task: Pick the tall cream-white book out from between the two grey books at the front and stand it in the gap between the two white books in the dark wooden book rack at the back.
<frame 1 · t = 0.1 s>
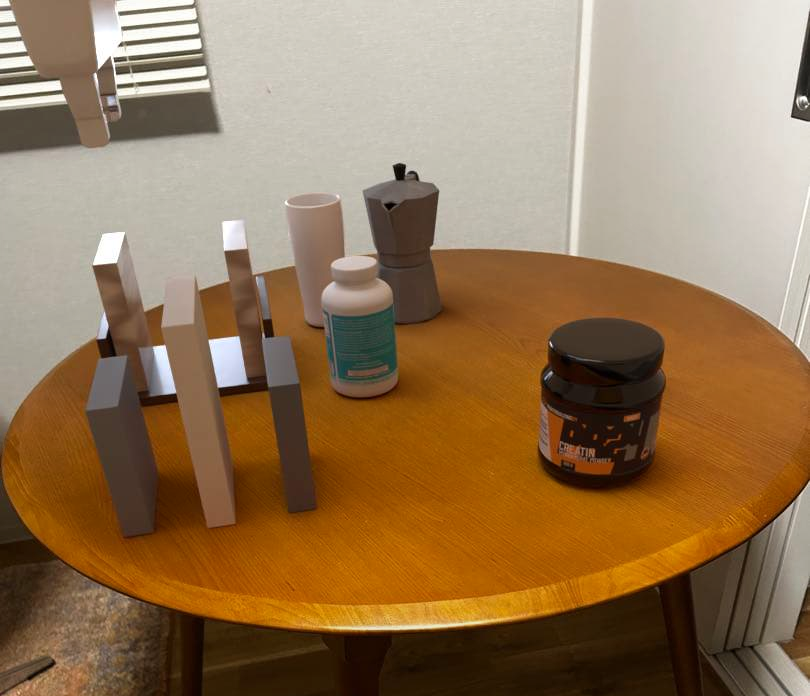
hand: (104, 132, 61), 30 cm above the table, tool pointing down, fingers open, 8 cm apart
white book: (220, 492, 76), on the table
supplement container: (594, 463, 77), on the table
pill bottle: (365, 386, 93), on the table
grey books: (220, 492, 76), on the table
coffeepot: (408, 309, 111), on the table
book rack: (200, 372, 98), on the table
drinking glass: (326, 322, 109), on the table
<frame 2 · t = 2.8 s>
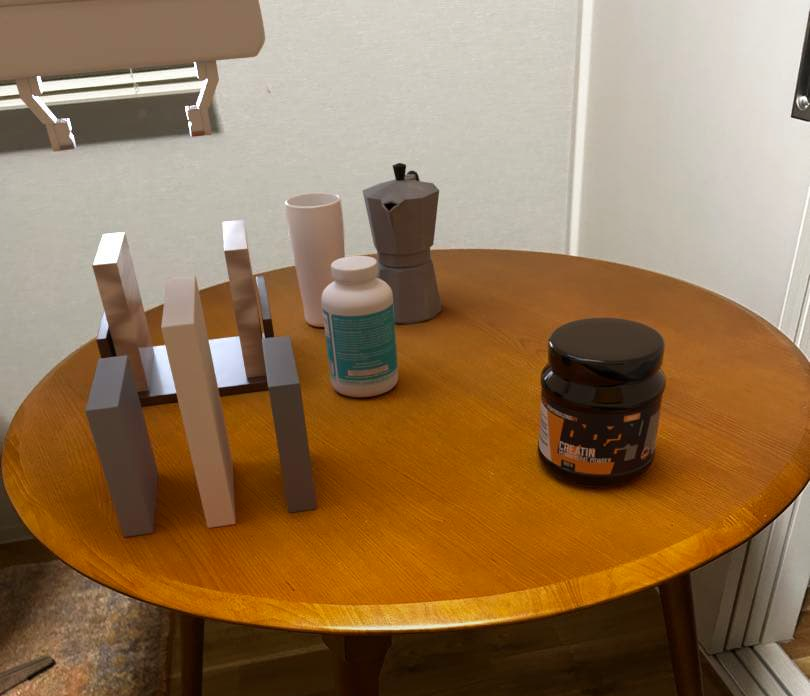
hand: (134, 141, 60), 29 cm above the table, tool pointing down, fingers open, 8 cm apart
nothing on the table moved.
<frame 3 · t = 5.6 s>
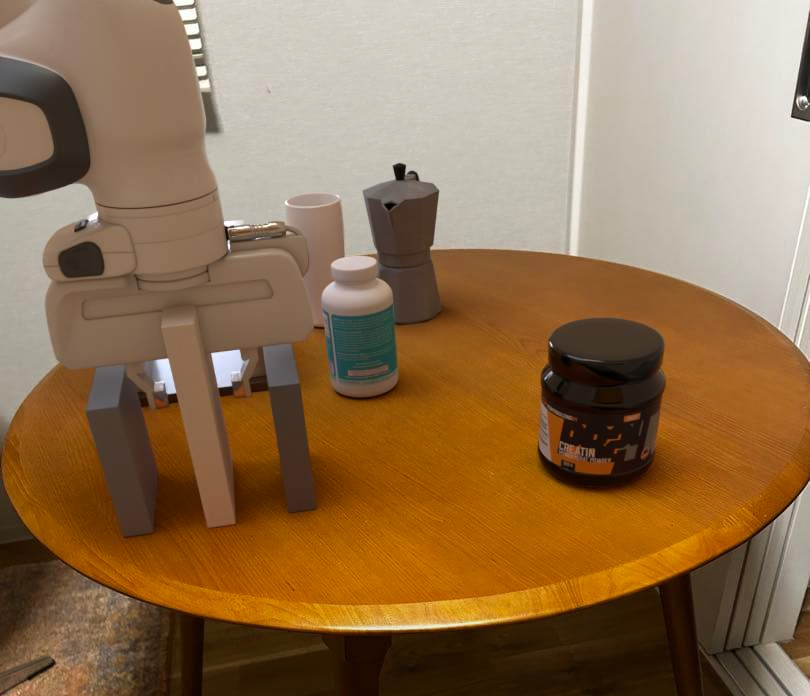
hand: (201, 400, 71), 9 cm above the table, tool pointing down, fingers open, 5 cm apart
nothing on the table moved.
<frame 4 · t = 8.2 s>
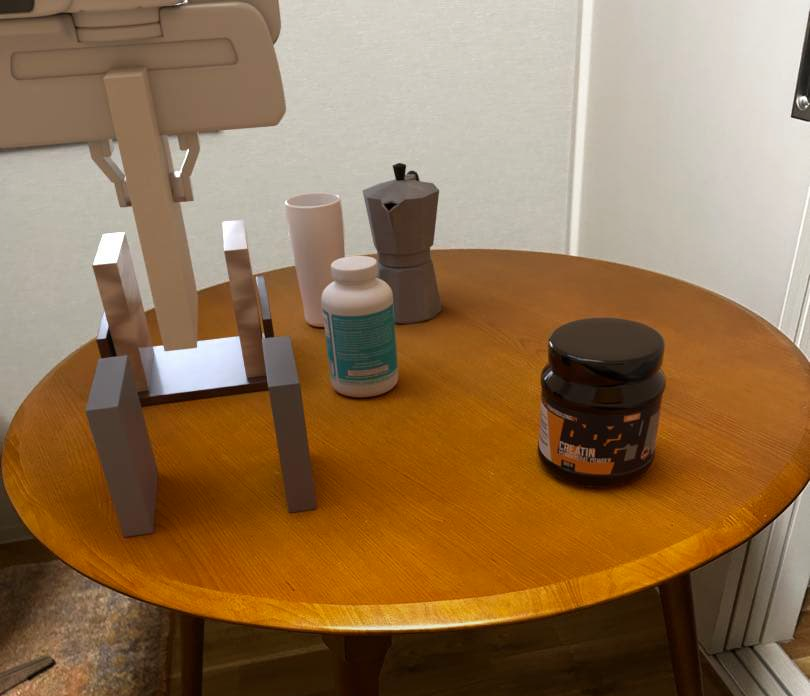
hand: (157, 202, 61), 25 cm above the table, tool pointing down, fingers closed on white book, 2 cm apart
white book: (182, 322, 67), point 16 cm above the table, touching gripper
everything else where it was.
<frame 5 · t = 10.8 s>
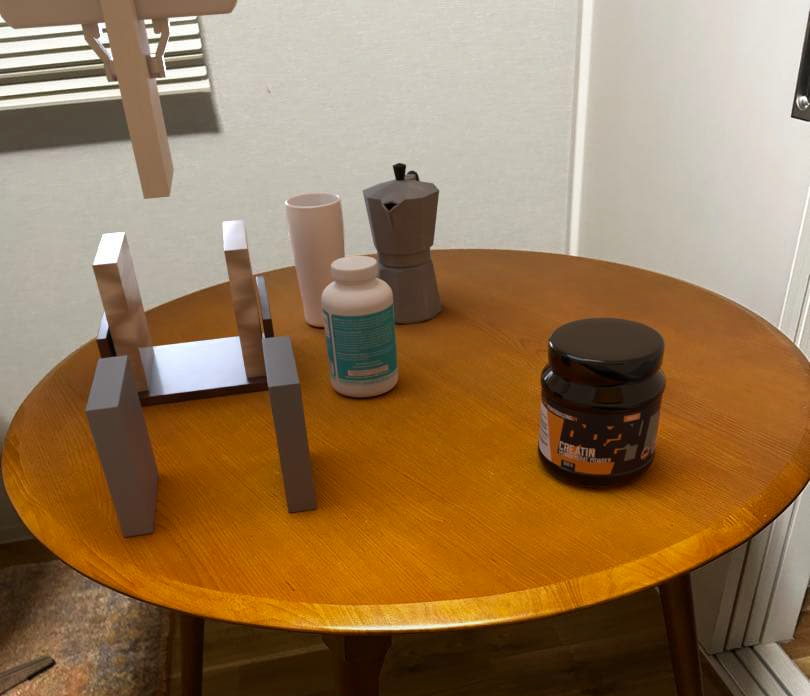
hand: (137, 79, 77), 30 cm above the table, tool pointing down, fingers closed on white book, 2 cm apart
white book: (159, 184, 83), point 21 cm above the table, touching gripper
everything else where it was.
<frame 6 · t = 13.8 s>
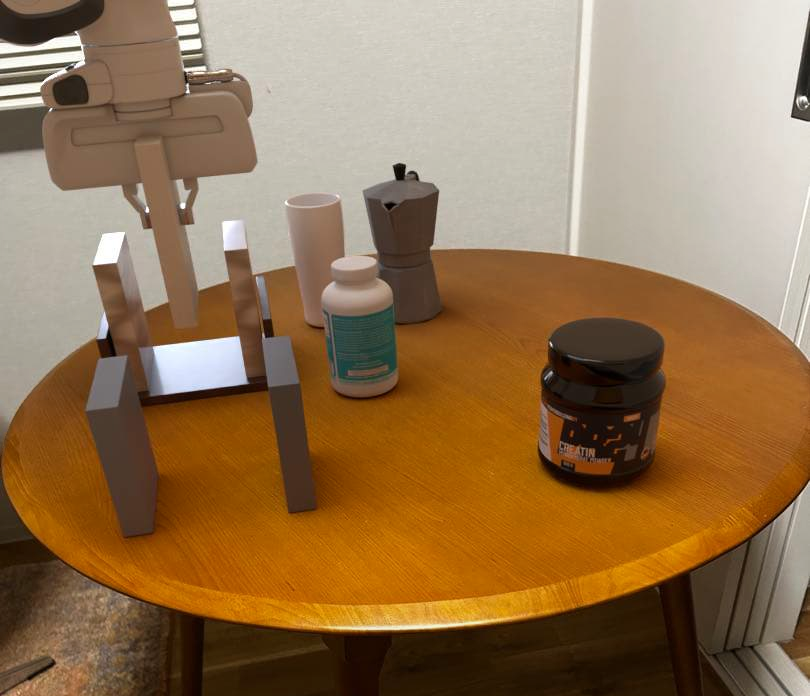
hand: (169, 225, 88), 17 cm above the table, tool pointing down, fingers closed on white book, 2 cm apart
white book: (187, 310, 93), point 7 cm above the table, touching gripper
everything else where it was.
when the fingers open (12 cm above the table, at t = 16.8 s): white book stays where it is, resting on book rack.
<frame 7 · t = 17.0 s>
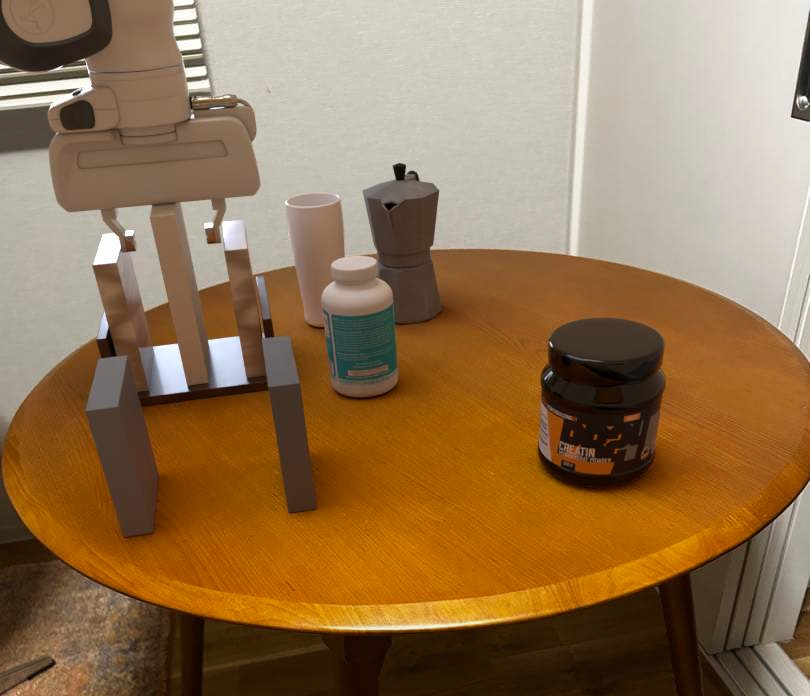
hand: (172, 246, 89), 14 cm above the table, tool pointing down, fingers open, 7 cm apart
white book: (198, 364, 97), point 1 cm above the table, touching book rack
everything else where it was.
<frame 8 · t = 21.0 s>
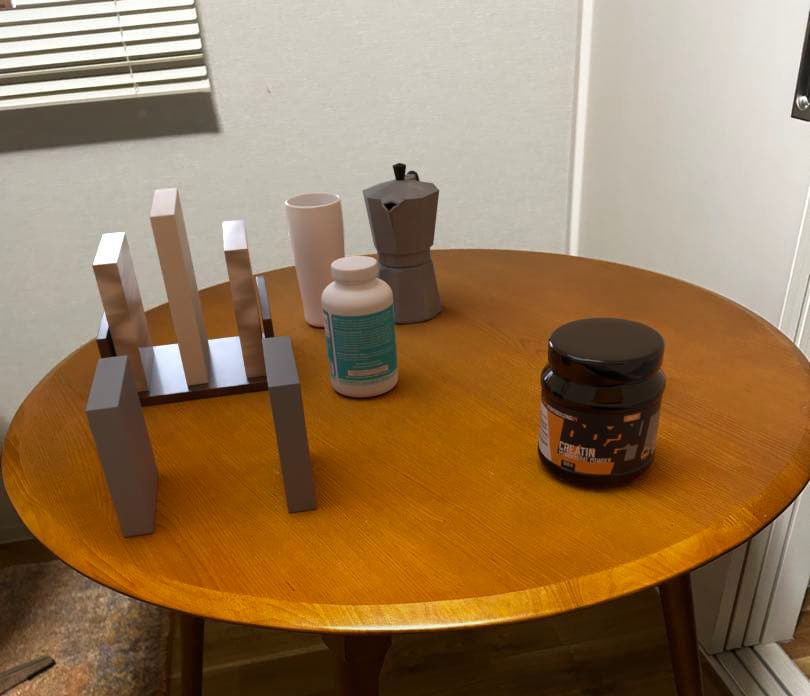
nothing on the table moved.
at the end: white book inside the target area on the book rack (0.0 cm from its centre), point 1.0 cm above the book rack's base; white book tilted 0°; the gripper is holding nothing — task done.
